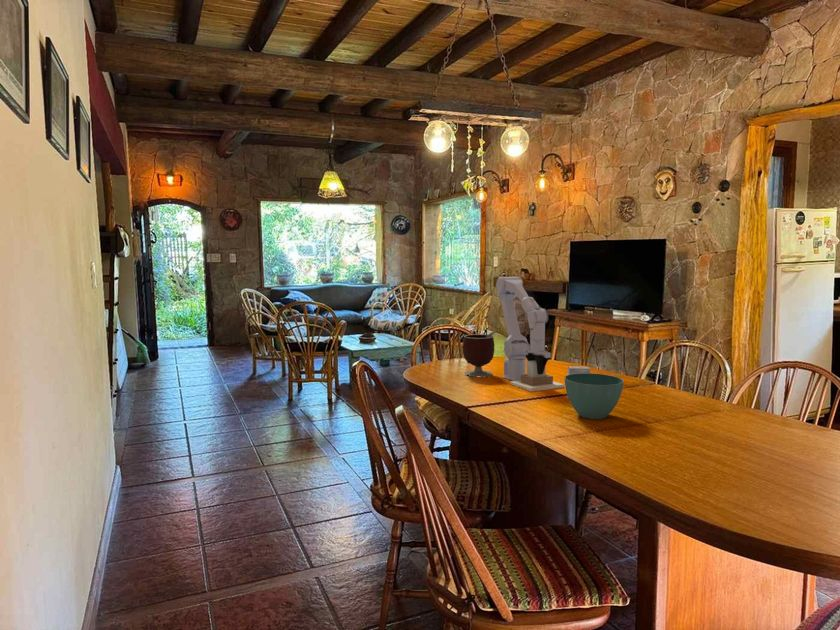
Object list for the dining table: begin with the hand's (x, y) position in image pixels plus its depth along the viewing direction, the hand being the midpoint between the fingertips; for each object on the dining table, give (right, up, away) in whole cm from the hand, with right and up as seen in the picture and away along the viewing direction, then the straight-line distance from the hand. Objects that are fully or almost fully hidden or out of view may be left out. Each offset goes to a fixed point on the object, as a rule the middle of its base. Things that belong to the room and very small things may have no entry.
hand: (536, 373), depth 229 cm
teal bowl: (+9, -10, -44) cm, 46 cm away
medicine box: (+15, -6, -6) cm, 17 cm away
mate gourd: (-20, -3, +24) cm, 32 cm away
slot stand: (0, -5, 0) cm, 5 cm away
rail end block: (0, -2, 0) cm, 2 cm away
